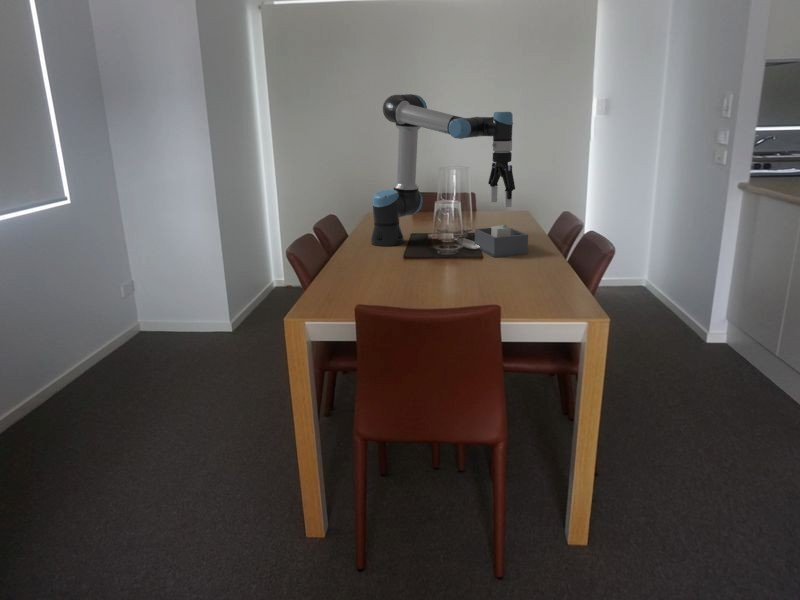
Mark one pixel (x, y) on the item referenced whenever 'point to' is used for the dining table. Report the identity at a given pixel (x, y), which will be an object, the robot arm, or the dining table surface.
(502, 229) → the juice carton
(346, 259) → the dining table surface
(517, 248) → the bin
